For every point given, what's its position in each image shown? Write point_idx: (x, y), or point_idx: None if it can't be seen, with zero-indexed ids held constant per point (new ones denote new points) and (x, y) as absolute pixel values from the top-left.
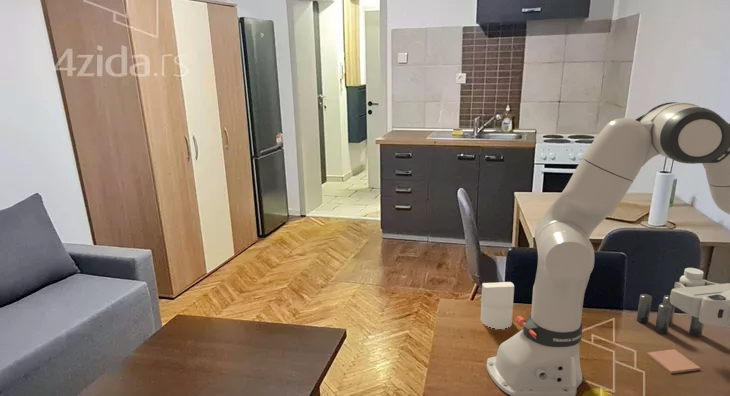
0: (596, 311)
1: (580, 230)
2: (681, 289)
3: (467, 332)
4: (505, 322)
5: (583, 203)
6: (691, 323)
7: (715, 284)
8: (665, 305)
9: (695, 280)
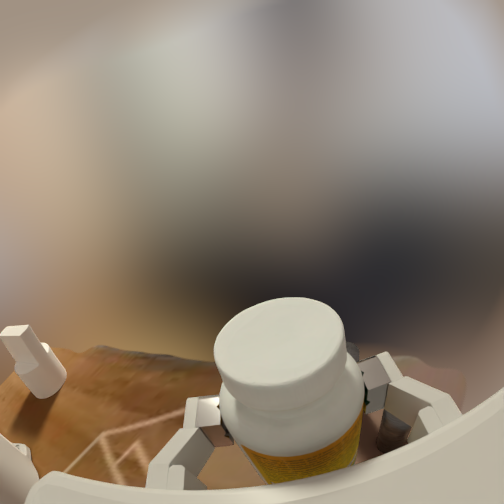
0: (211, 371)
1: None
2: (67, 497)
3: (12, 394)
4: (35, 390)
5: None
6: (380, 429)
7: (423, 413)
8: None
9: (271, 414)
